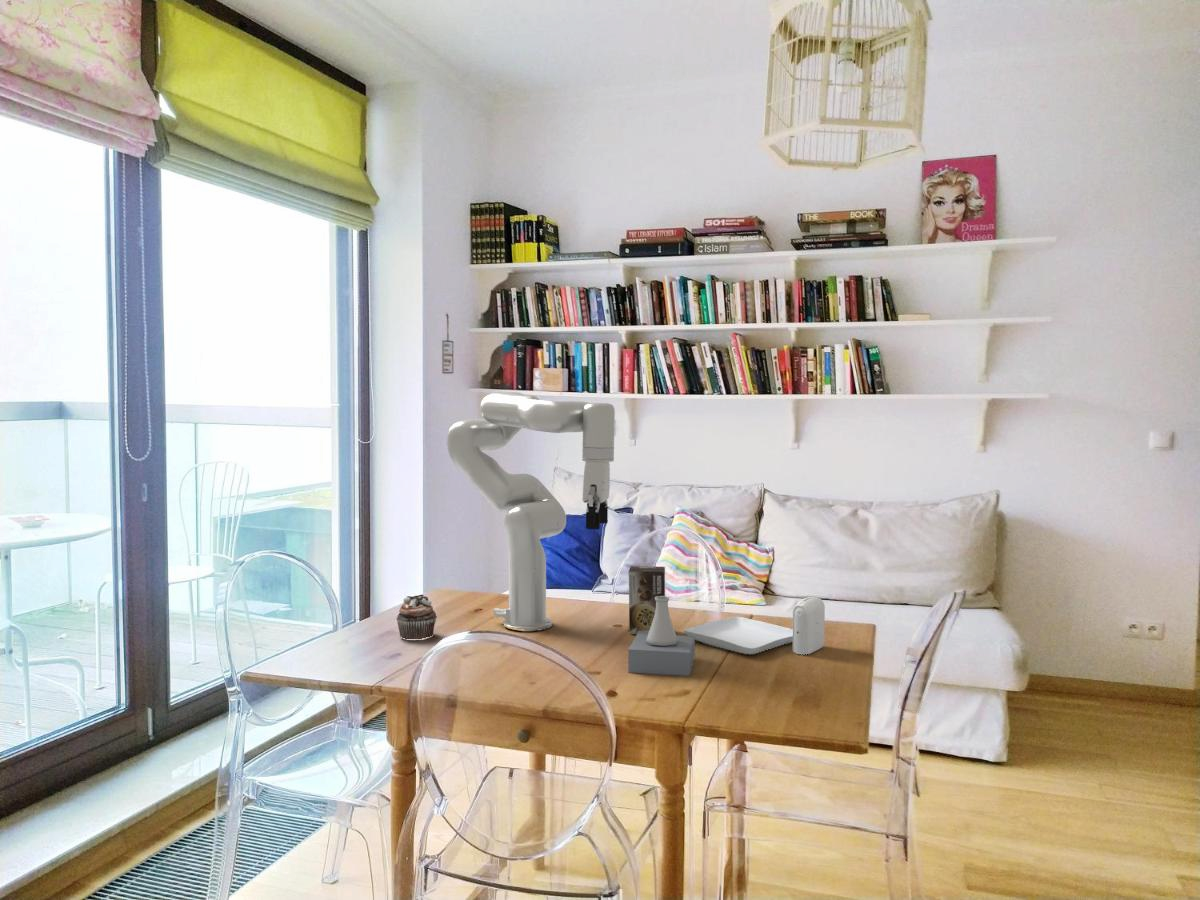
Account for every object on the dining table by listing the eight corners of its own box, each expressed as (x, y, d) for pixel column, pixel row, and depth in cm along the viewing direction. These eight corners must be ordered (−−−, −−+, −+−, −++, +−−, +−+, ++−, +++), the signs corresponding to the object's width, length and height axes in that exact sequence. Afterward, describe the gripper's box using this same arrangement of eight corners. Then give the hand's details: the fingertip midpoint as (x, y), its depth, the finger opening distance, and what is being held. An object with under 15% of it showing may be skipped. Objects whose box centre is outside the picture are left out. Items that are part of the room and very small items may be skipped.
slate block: (628, 672, 189) (628, 649, 189) (637, 655, 202) (637, 633, 202) (689, 676, 187) (689, 652, 186) (694, 658, 200) (694, 636, 199)
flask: (643, 638, 197) (643, 594, 197) (675, 637, 198) (675, 593, 198) (648, 647, 190) (648, 601, 190) (681, 646, 191) (681, 600, 190)
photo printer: (807, 657, 201) (807, 603, 200) (789, 653, 203) (790, 600, 203) (826, 647, 209) (827, 595, 208) (809, 644, 211) (810, 592, 211)
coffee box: (665, 629, 225) (666, 566, 224) (665, 635, 218) (665, 571, 218) (629, 628, 226) (630, 565, 225) (628, 634, 219) (628, 570, 218)
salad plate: (806, 644, 212) (806, 630, 212) (752, 662, 198) (752, 647, 198) (736, 627, 228) (736, 614, 228) (680, 643, 213) (681, 629, 213)
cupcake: (389, 636, 218) (389, 595, 218) (424, 629, 224) (424, 590, 224) (408, 644, 211) (408, 602, 210) (444, 637, 217) (443, 596, 217)
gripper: (590, 451, 220) (588, 520, 222) (574, 457, 204) (573, 530, 205) (619, 452, 219) (618, 521, 220) (606, 458, 202) (605, 532, 203)
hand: (596, 525), depth 213 cm, fingers open, 9 cm apart
